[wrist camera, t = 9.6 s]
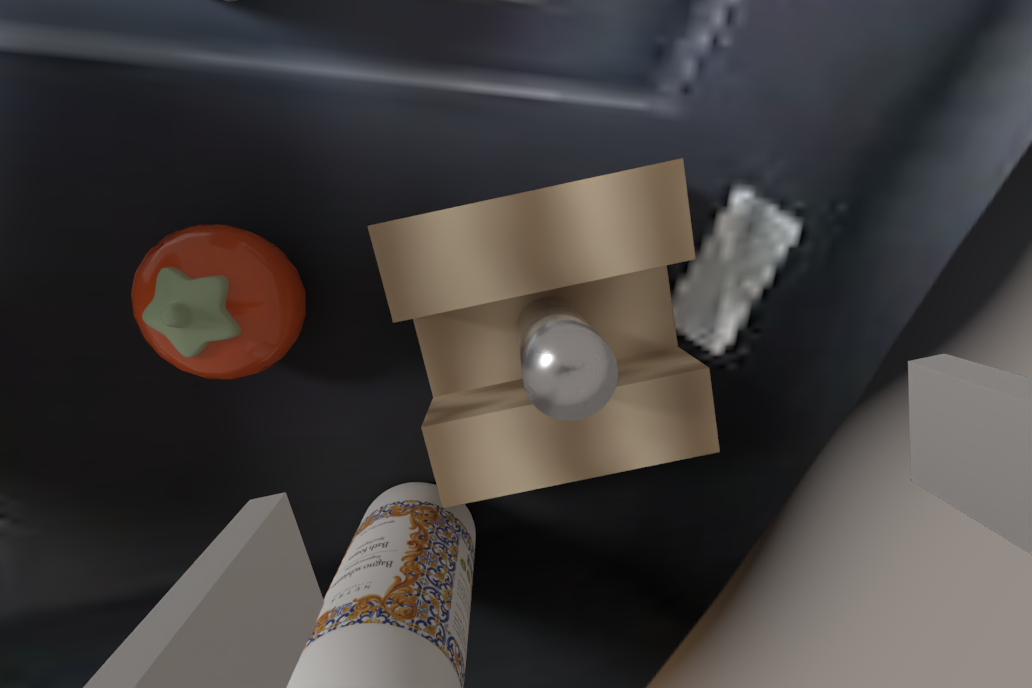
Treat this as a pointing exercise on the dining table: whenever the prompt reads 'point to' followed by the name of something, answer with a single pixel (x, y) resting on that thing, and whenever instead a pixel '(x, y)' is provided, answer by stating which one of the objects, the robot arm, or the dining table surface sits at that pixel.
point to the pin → (564, 360)
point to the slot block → (576, 279)
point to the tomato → (218, 301)
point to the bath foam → (397, 599)
